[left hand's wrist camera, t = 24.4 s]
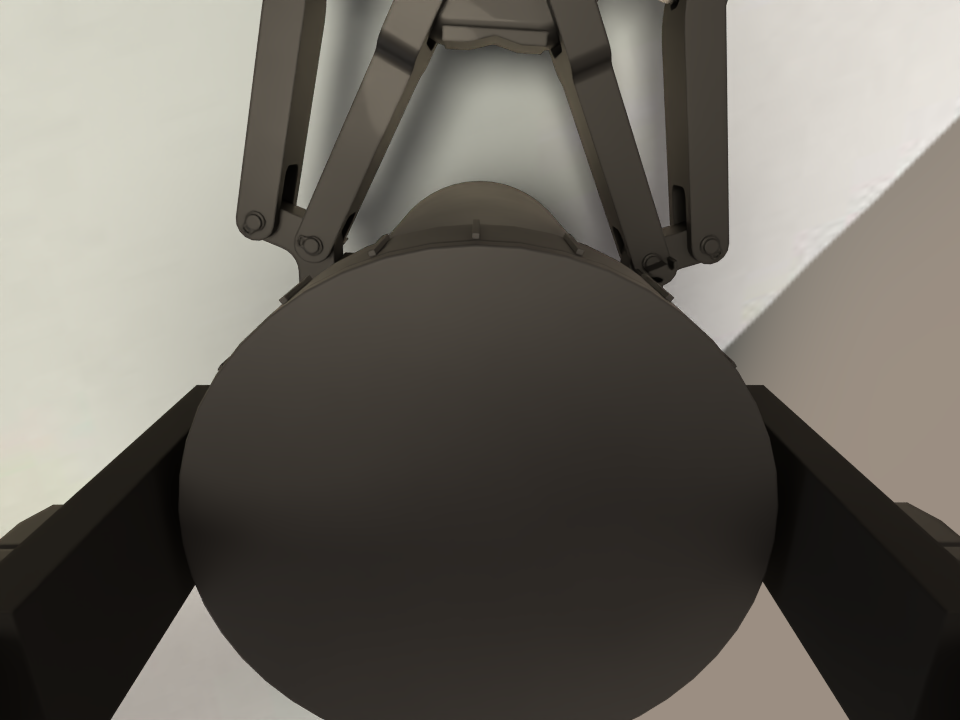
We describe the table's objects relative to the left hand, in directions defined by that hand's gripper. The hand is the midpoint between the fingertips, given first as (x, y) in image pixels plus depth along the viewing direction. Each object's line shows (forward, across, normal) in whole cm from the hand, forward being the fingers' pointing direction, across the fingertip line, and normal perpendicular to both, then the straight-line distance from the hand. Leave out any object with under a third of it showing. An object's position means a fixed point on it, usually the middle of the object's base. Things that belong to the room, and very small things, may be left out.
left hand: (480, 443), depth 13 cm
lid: (-3, 0, 0) cm, 3 cm away
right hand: (+9, 0, -5) cm, 11 cm away
